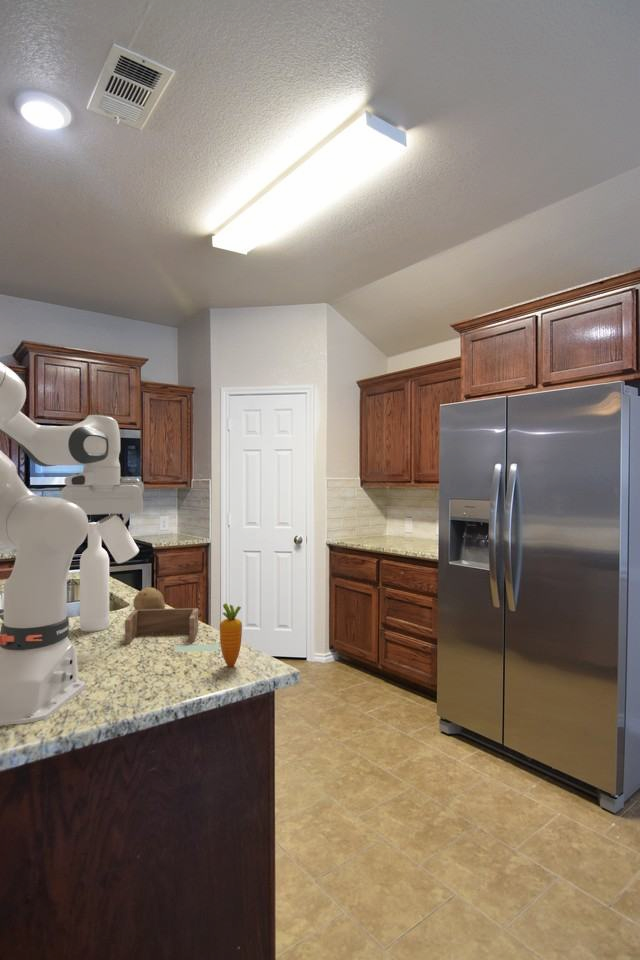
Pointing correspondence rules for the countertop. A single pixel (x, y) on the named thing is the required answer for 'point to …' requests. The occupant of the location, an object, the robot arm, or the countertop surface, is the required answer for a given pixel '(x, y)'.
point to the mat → (196, 648)
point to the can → (117, 538)
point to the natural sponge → (149, 599)
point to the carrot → (230, 635)
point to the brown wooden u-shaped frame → (161, 622)
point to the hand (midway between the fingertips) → (102, 531)
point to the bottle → (94, 584)
